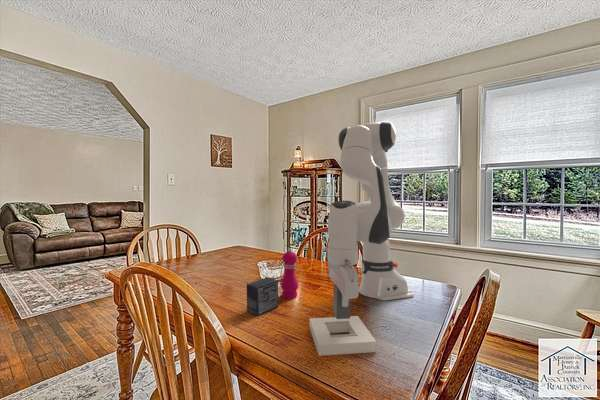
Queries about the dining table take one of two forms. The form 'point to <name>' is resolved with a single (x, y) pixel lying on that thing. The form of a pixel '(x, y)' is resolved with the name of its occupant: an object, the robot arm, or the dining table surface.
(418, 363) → the dining table surface
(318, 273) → the dining table surface
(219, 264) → the dining table surface
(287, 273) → the pepper mill
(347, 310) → the plug
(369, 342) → the socket
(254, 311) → the small box
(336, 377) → the dining table surface
